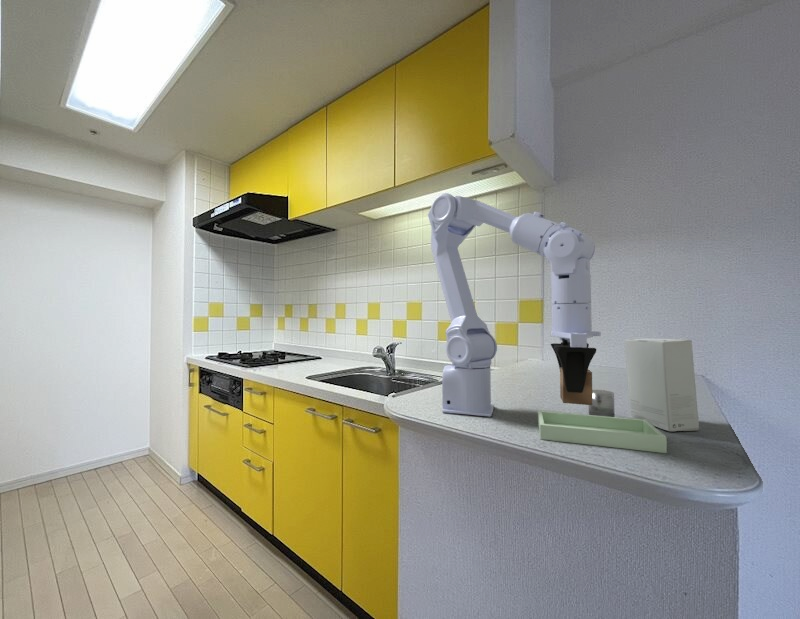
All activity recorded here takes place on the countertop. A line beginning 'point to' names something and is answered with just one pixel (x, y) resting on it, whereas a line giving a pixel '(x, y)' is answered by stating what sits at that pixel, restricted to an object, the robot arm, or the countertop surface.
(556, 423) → the parts tray
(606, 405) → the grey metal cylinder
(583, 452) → the countertop surface
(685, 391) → the skincare box
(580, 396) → the walnut block
